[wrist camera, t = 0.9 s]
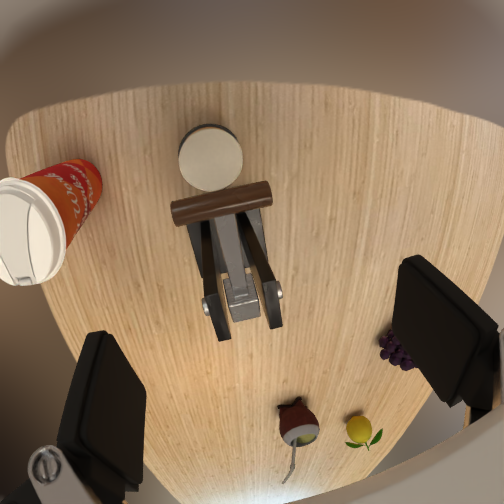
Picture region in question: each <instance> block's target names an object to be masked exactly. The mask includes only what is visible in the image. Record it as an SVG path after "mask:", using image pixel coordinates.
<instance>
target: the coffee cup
mask: <svg viewBox="0 0 504 504" xmlns="http://www.w3.org/2000/svg"><path fill="white" fill-rule="evenodd" d="M101 192H102V179H101V176H100V173H99V171H98V170H97V168H96V167H95V166H94V165H93V164H92V163H90V162H88V161H86V160H83V159H73V160H69V161H66V162H63V163H60V164H57V165H54V166H51V167H48V168H46V169H43V170H41V171H38V172H35V173H33V174H30V175H28V176H26V177H23V178H21V179H17V178H13V177H9V178H5V179H2V180H0V279H2V280H3V281H5V282H7V283H8V284H11V285H14V286H17V285H19V284H20V285H21V286H25V285H33V284H39V283H43V282H45V281H47V280H49V279H50V278H52V277H53V276H54V275H55V274H56V273H57V272H58V270H59V269H60V267H61V265H62V263H63V260H64V257H65V252H66V249H67V247H68V246H69V244H70V243H71V241H72V240H73V238H74V236H75V235H76V233H77V232H78V230H79V229H80V227H81V226H82V224H83V223H84V221H85V220H86V218H87V217H88V215H89V214H90V212H91V211H92V209H93V208H94V206H95V205H96V203H97V202H98V200H99V198H100V195H101Z"/></svg>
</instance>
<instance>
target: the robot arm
mask: <svg viewBox="0 0 504 504" xmlns="http://www.w3.org/2000/svg"><path fill="white" fill-rule="evenodd" d="M391 327H392V331H393V334H394V335H395V337H396V338H397V339H398V341H399V342H400V343H401V345H402V346H403V347H404V349H405V350H406V352H407V353H408V354H409V356H410V357H411V358H412V360H413V361H414V363H415V364H416V365H417V367H418V368H419V370H420V371H421V372H422V374H423V375H424V377H425V378H426V380H427V381H428V382H429V384H430V385H431V387H432V388H433V390H434V391H435V393H436V394H437V395H438V397H439V398H440V400H441V401H443V402H446V403H447V404H448V406H449V407H450V408H451V407H452V406H454V405H456V404H457V403H459V402H461V401H462V400H464V402H465V403H466V411H465V419H464V426H463V430H461V431H460V432H458V433H456V434H455V435H453V436H452V437H450V438H448V439H446V440H445V441H443V442H441V443H439V444H438V445H436V446H434V447H432V448H430V449H429V450H427V451H425V452H423V453H421V454H419V455H417V456H415V457H413V458H411V459H409V460H407V461H405V462H403V463H401V464H398V465H396V466H394V467H392V468H390V469H387V470H385V471H383V472H380V473H378V474H376V475H373V476H371V477H368V478H366V479H363V480H360V481H358V482H355V483H352V484H350V485H347V486H344V487H341V488H338V489H335V490H332V491H329V492H326V493H322V494H319V495H316V496H312V497H309V498H305V499H301V500H297V501H293V502H289V503H285V504H504V328H503V329H502V330H501V332H500V333H498V331H497V328H498V325H497V323H496V322H495V321H494V320H493V319H491V317H490V316H489V315H488V314H486V313H485V312H484V311H483V310H482V309H481V308H480V307H479V306H478V305H477V304H476V303H475V302H474V301H473V300H472V299H471V298H470V297H468V296H467V295H466V294H465V293H464V292H463V291H462V290H461V289H460V288H459V287H457V286H456V285H455V284H454V283H453V282H452V281H451V280H450V279H448V278H447V277H446V276H445V275H444V274H443V273H441V272H440V271H439V270H438V269H437V268H436V267H434V266H433V265H432V264H431V263H430V262H428V261H427V260H426V259H425V258H424V257H422V256H421V255H414V256H411V257H408V258H405V259H403V261H402V264H400V266H399V269H398V279H397V288H396V296H395V304H394V311H393V318H392V325H391ZM145 411H146V390H145V387H144V385H143V384H142V382H141V381H140V379H139V378H138V376H137V375H136V373H135V371H134V370H133V368H132V367H131V365H130V363H129V362H128V360H127V358H126V357H125V355H124V353H123V352H122V350H121V348H120V347H119V345H118V343H117V341H116V340H115V338H114V336H113V335H112V334H108V333H107V332H106V331H104V330H102V331H97V332H91V333H88V334H87V336H86V339H85V342H84V344H83V347H82V350H81V353H80V356H79V359H78V363H77V366H76V369H75V372H74V375H73V379H72V382H71V386H70V389H69V393H68V396H67V400H66V403H65V407H64V411H63V415H62V419H61V423H60V427H59V432H58V436H57V441H58V442H57V447H55V446H51V445H48V446H43V447H41V448H39V449H37V450H36V451H35V452H34V453H33V455H32V456H31V458H30V460H29V464H28V473H29V477H30V478H29V479H28V480H26V481H25V482H24V483H23V484H22V485H21V486H19V487H18V488H17V489H15V490H14V491H13V492H12V493H11V494H9V495H8V496H7V497H6V498H4V499H3V500H2V501H1V502H0V504H128V503H127V502H126V501H125V491H128V492H129V491H130V492H138V490H139V488H138V487H139V484H141V483H142V481H143V450H144V427H145Z"/></svg>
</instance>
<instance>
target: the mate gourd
mask: <svg viewBox="0 0 504 504" xmlns="http://www.w3.org/2000/svg"><path fill="white" fill-rule="evenodd" d="M301 400H302V398H301V397H298V398H297V399H296V400H295V401H294V403H293V404H292V405H278V406H277V407H278V409H280V412H279V418H280V425H279V430H280V434H281V437H282V438H283V440H284V441H285V443H287V444H288V445H289V446H292V447H293V451H292V463H291V465H290V466H291V467H290V471H289V473H288V475H287V476H286V478H285V479H284V481H283V482H282V484H284V483H285V482H286V481H287V479H288V478H289V477H290V476H291V474H292V472H293V470H294V469H295V452H296V447H302V446H305V445H308V444H310V443H312V442H314V441H315V440H316V439H317V437H318V434H319V430H320V429H319V423H318V420H317V419H316V417H315V415H314V414H313V413H312V412H311V411H310V410H309V409H307V407H306V406H304V405H303V403H302V402H301Z"/></svg>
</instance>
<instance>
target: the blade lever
mask: <svg viewBox="0 0 504 504" xmlns="http://www.w3.org/2000/svg"><path fill="white" fill-rule="evenodd" d="M272 203H273V199H272V193H271V188H270V185H269V183H268V182H267V181H261V182H256V183H251V184H246V185H242V186H237V187H232V188H228V189H223V190H219V191H214V192H210V193H206V194H201V195H197V196H193V197H189V198H184V199H180V200H176V201H172V202H171V205H170V207H171V214H172V218H173V221H174V224H175V225H176V227H179V226H183V225H188V224H192V223H196V222H200V221H205V220H209V219H213V218H214V222H215V226H216V230H217V234H218V238H219V242H220V245H221V249H222V253H223V257H224V261H225V265H226V268H227V272H228V276H229V278H227V279H223V284H224V289H225V293H226V298H227V303H228V307H229V310H230V313H231V317H232V320H233V322H234V323H235V322H239V321H243V320H248V319H252V318H256V317H260V316H261V313H260V306H259V299H258V295H257V292H256V288H255V284H254V280H253V277H252V274H251V273H249V274H245V268H244V263H243V257H242V251H241V246H240V240H239V235H238V229H237V223H236V217H235V213H240V212H244V211H249V210H254V209H258V208H263V207H268V206H271V205H272Z"/></svg>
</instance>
